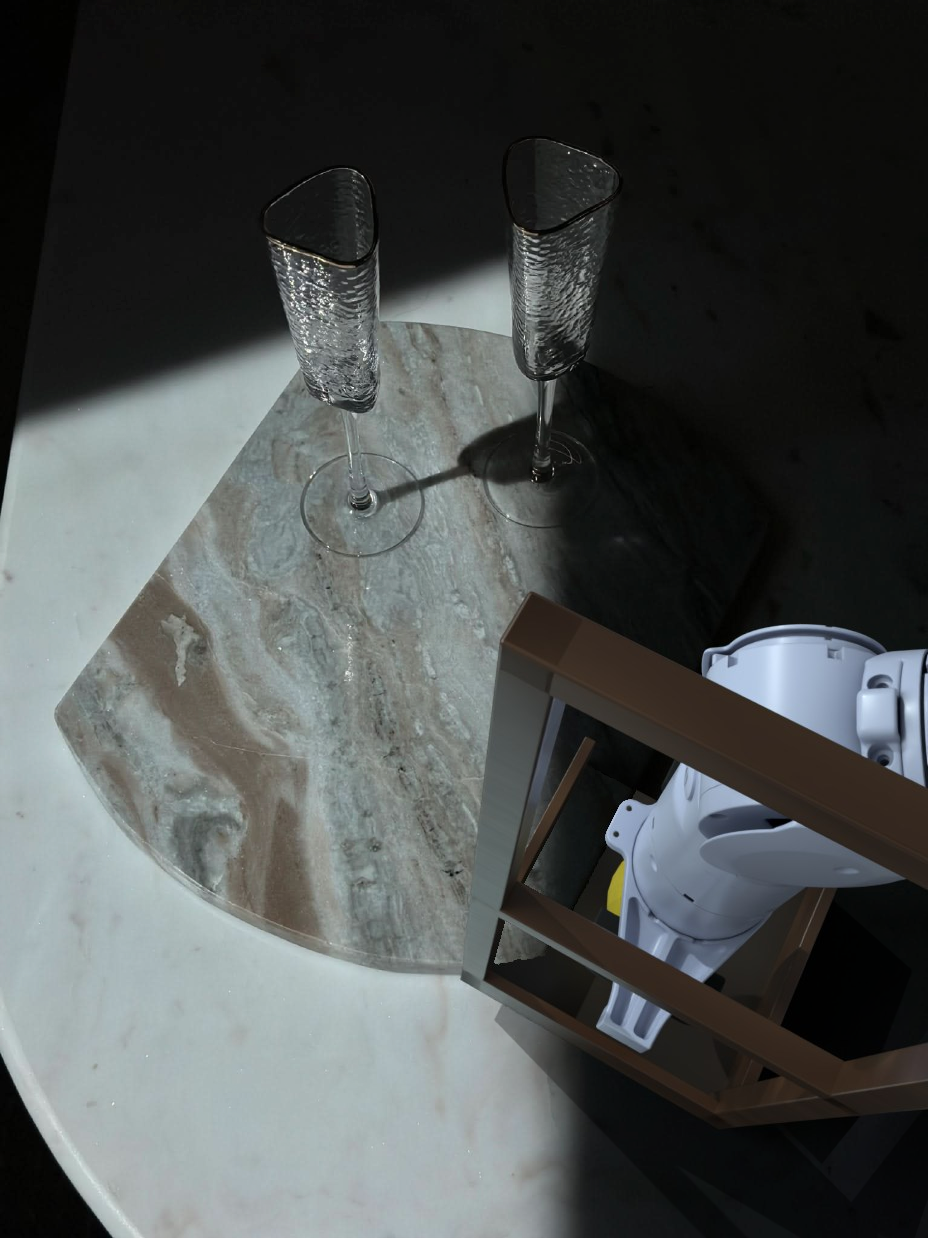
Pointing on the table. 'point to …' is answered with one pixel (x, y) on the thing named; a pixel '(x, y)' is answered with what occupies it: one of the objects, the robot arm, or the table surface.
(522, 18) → the table surface
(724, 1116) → the rack
